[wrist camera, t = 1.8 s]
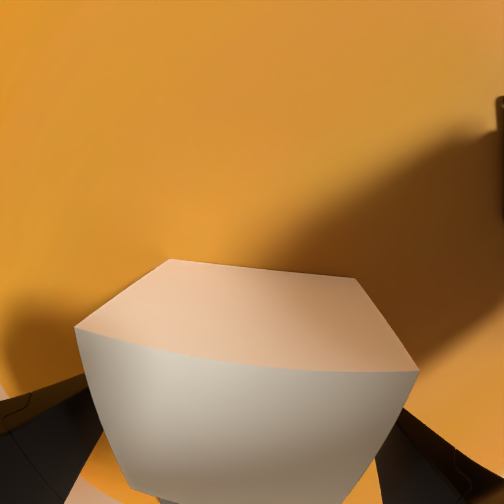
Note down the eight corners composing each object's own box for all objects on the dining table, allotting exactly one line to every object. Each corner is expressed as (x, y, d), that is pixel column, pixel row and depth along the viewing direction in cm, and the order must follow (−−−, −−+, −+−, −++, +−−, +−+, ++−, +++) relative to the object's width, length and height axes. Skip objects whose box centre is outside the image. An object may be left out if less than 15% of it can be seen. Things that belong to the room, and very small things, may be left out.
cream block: (169, 258, 11) (73, 326, 5) (355, 278, 10) (420, 370, 5) (181, 443, 14) (150, 521, 8) (303, 459, 13) (304, 544, 7)
